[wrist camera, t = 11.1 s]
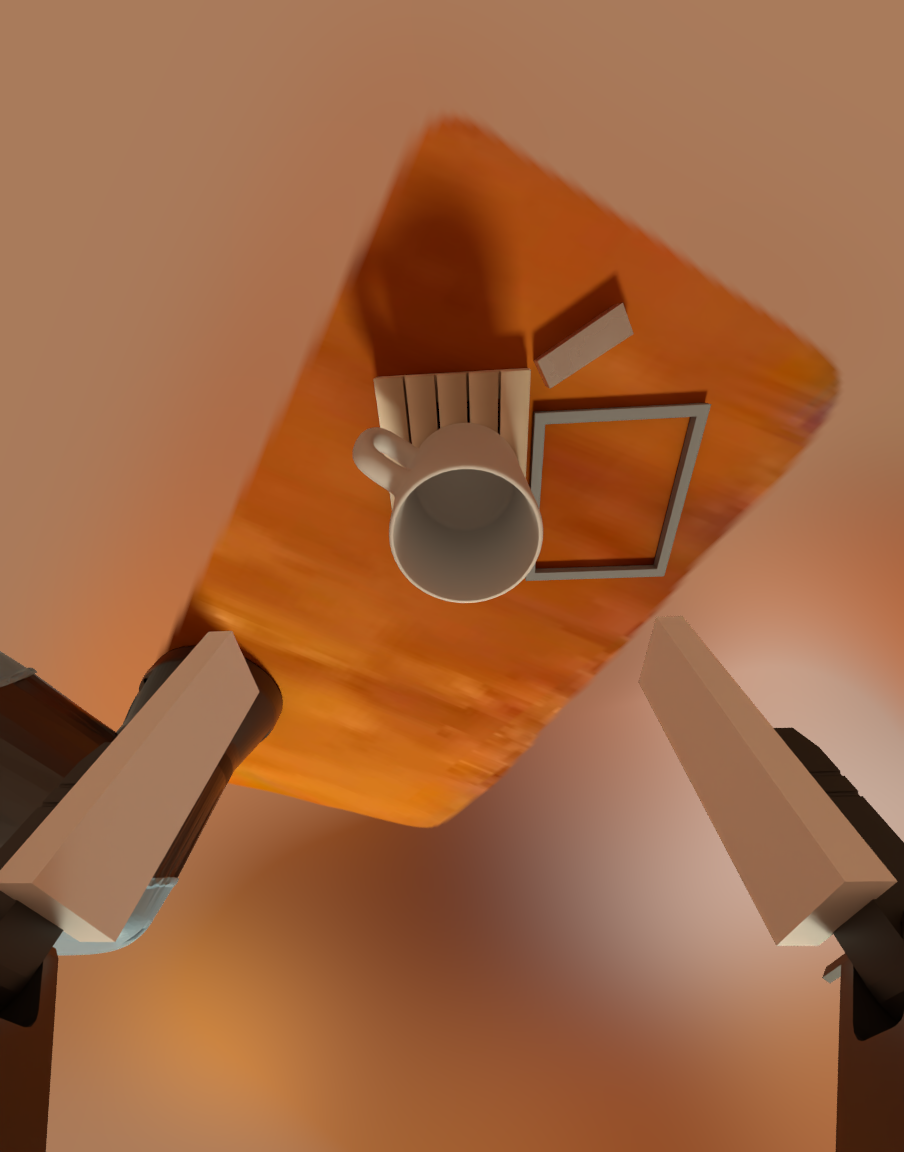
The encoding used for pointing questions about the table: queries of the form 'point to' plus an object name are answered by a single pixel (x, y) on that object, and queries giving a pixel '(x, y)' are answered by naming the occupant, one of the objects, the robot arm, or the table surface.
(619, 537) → the table surface
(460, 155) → the table surface
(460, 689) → the table surface
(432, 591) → the mug
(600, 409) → the socket frame
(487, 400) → the rack
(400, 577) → the table surface
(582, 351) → the grey rectangular bar
